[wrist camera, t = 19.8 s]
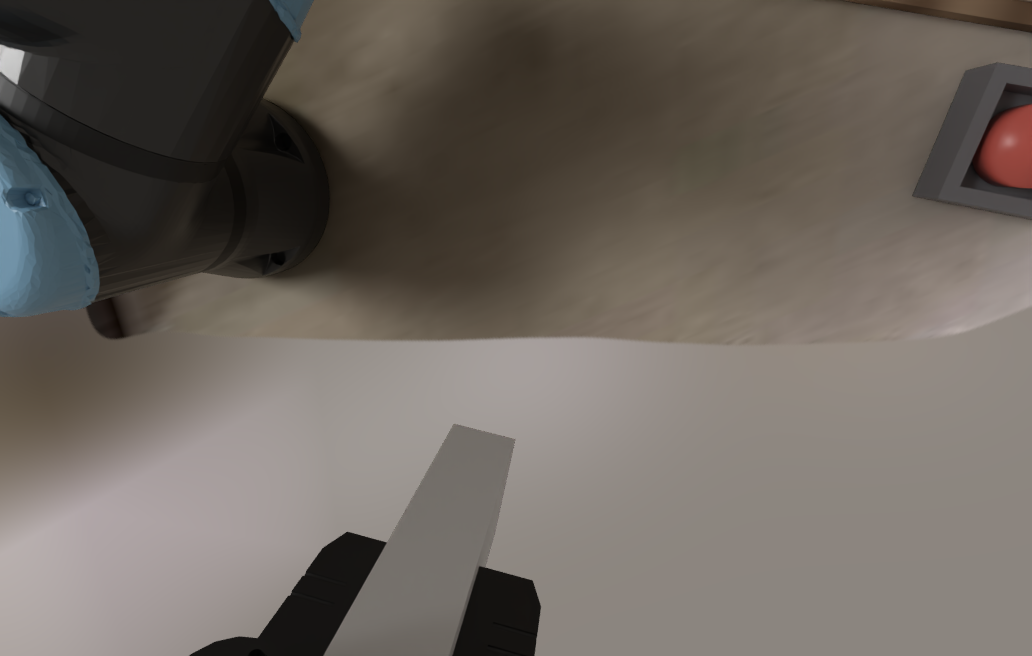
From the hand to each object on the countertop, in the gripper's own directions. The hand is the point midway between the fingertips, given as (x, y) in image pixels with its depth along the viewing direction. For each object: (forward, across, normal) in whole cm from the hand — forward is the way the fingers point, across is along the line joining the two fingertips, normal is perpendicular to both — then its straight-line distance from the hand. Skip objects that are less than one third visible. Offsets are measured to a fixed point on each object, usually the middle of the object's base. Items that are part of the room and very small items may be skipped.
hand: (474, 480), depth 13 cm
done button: (+31, +28, +14) cm, 44 cm away
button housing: (+32, +28, +14) cm, 45 cm away
